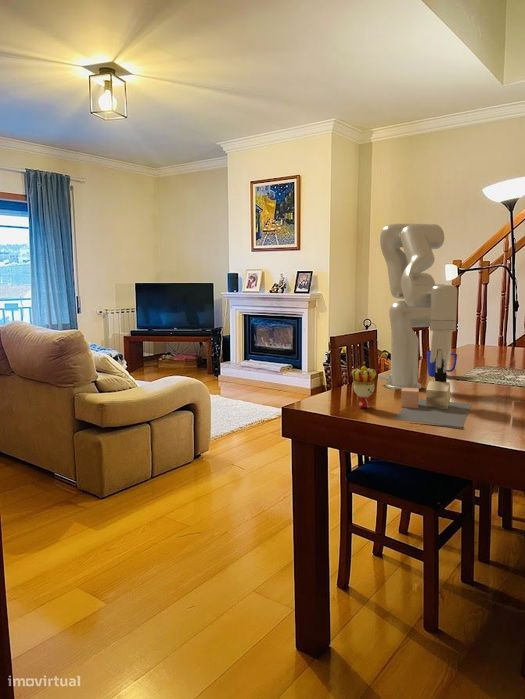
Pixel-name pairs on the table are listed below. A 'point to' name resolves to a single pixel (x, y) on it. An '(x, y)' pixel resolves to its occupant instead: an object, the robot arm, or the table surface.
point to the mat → (436, 415)
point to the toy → (364, 385)
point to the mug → (433, 365)
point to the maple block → (438, 394)
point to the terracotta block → (409, 397)
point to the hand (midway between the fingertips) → (440, 384)
